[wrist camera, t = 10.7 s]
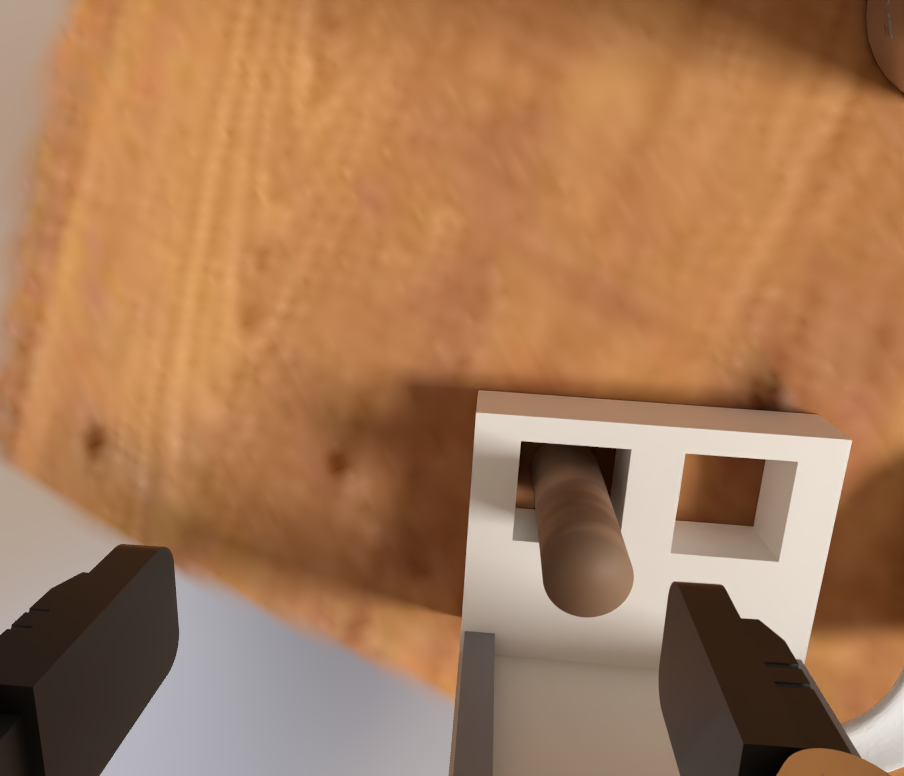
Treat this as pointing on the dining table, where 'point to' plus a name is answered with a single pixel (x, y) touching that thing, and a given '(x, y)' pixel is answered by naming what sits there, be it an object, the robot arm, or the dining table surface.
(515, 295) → the dining table surface
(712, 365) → the dining table surface
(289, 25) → the dining table surface
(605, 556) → the walnut dowel
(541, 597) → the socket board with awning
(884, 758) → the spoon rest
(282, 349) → the dining table surface
